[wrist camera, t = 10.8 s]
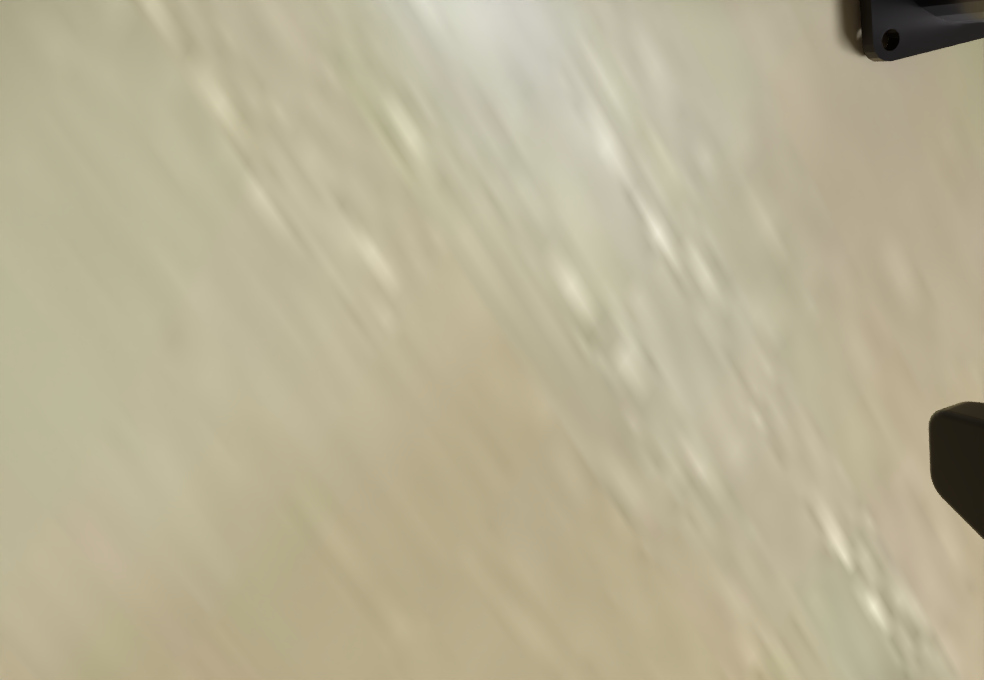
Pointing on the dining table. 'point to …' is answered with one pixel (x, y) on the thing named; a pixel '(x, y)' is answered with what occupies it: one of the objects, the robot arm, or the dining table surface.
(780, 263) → the dining table surface
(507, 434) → the dining table surface
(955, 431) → the robot arm
